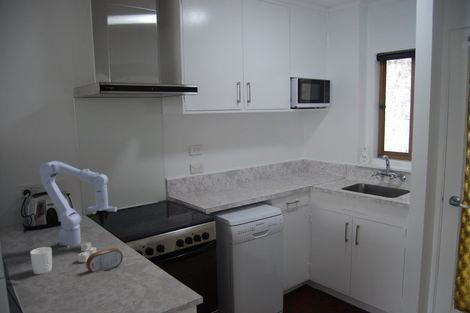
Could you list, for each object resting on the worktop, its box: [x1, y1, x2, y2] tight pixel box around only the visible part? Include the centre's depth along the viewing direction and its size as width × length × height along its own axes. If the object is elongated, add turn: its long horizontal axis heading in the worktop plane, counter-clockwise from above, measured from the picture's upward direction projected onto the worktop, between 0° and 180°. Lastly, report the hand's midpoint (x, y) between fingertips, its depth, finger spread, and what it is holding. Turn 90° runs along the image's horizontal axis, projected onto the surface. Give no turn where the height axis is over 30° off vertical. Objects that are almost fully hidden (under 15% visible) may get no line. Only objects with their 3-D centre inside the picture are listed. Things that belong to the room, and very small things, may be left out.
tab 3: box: [86, 245, 98, 256], centre depth 165 cm, size 4×3×4 cm
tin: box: [85, 247, 124, 273], centre depth 152 cm, size 15×3×8 cm, turn 131°
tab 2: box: [77, 251, 89, 263], centre depth 159 cm, size 4×3×4 cm
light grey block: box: [80, 240, 92, 252], centre depth 172 cm, size 4×3×4 cm
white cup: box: [29, 246, 53, 275], centre depth 150 cm, size 8×8×10 cm
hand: (103, 225), depth 180 cm, fingers closed
